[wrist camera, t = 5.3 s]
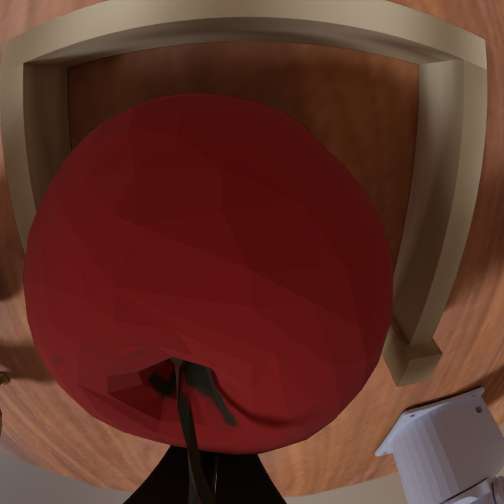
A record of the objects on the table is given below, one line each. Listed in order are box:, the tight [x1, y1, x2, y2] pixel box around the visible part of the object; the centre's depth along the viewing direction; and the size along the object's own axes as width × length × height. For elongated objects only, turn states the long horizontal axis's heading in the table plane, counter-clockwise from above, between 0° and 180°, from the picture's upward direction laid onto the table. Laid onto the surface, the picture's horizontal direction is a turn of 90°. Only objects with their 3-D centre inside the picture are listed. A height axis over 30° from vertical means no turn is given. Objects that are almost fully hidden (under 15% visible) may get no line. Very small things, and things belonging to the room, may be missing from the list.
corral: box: [0, 0, 487, 387], centre depth 10 cm, size 17×14×4 cm
